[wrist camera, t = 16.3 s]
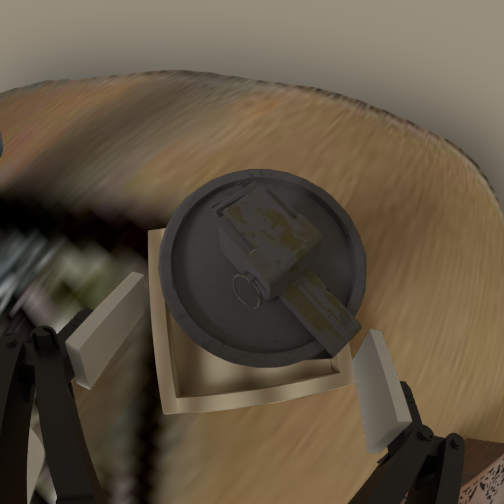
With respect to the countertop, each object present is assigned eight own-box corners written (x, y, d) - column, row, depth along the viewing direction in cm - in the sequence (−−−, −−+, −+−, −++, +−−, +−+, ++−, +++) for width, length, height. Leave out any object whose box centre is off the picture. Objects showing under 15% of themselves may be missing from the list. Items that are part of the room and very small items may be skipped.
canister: (179, 307, 30) (99, 218, 11) (253, 248, 33) (277, 108, 14) (246, 386, 27) (270, 436, 8) (319, 321, 30) (434, 255, 11)
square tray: (168, 411, 27) (159, 418, 23) (152, 241, 34) (144, 227, 30) (346, 384, 29) (361, 386, 25) (313, 223, 36) (321, 207, 32)
